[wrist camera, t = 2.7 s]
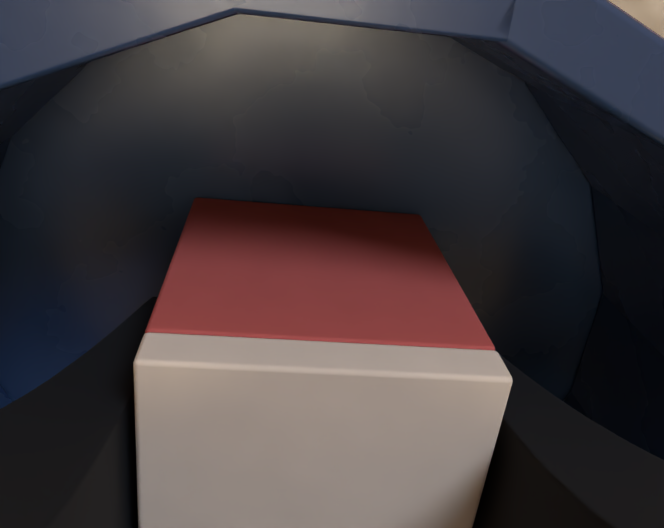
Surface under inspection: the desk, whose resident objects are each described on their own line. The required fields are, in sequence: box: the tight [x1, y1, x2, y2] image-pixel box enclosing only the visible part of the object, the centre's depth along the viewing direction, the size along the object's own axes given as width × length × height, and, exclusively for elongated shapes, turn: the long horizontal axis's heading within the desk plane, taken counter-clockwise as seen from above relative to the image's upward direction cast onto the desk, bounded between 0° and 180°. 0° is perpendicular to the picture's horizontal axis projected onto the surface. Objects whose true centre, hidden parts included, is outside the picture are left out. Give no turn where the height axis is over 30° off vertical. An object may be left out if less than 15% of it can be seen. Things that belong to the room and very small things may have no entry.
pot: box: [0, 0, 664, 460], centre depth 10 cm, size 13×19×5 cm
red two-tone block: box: [133, 198, 513, 528], centre depth 10 cm, size 5×4×5 cm
